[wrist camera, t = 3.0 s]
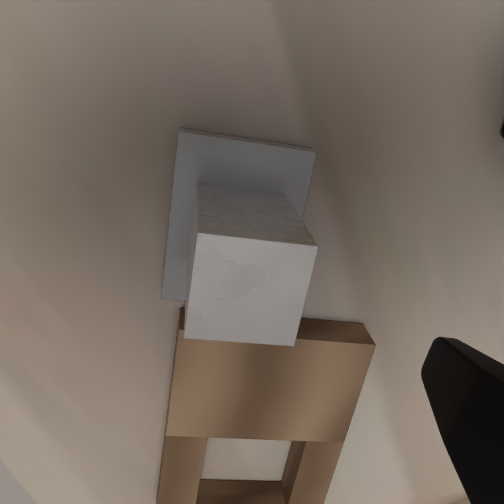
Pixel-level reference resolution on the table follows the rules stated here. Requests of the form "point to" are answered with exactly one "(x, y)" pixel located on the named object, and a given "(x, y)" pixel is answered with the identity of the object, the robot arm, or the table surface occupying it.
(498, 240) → the table surface
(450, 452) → the robot arm
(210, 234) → the block
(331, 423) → the board
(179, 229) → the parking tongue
